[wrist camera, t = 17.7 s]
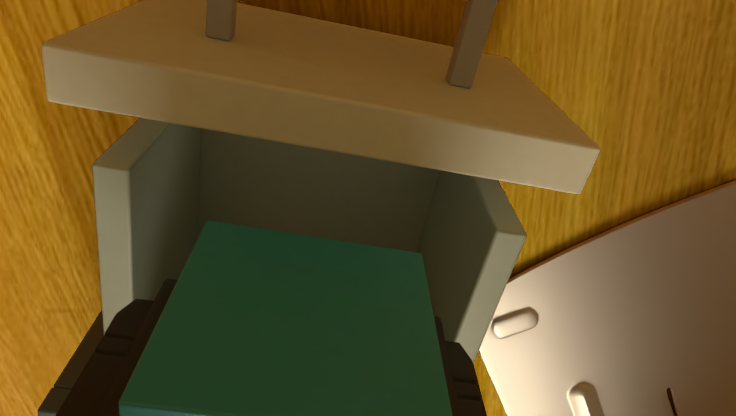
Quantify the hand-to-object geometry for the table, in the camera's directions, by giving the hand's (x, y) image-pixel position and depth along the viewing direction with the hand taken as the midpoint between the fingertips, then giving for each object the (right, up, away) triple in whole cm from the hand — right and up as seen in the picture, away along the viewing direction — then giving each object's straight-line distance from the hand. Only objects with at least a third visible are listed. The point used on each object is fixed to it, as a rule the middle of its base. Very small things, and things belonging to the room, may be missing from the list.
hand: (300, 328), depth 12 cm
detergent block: (0, 0, 0) cm, 0 cm away
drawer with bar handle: (0, +5, +8) cm, 9 cm away
